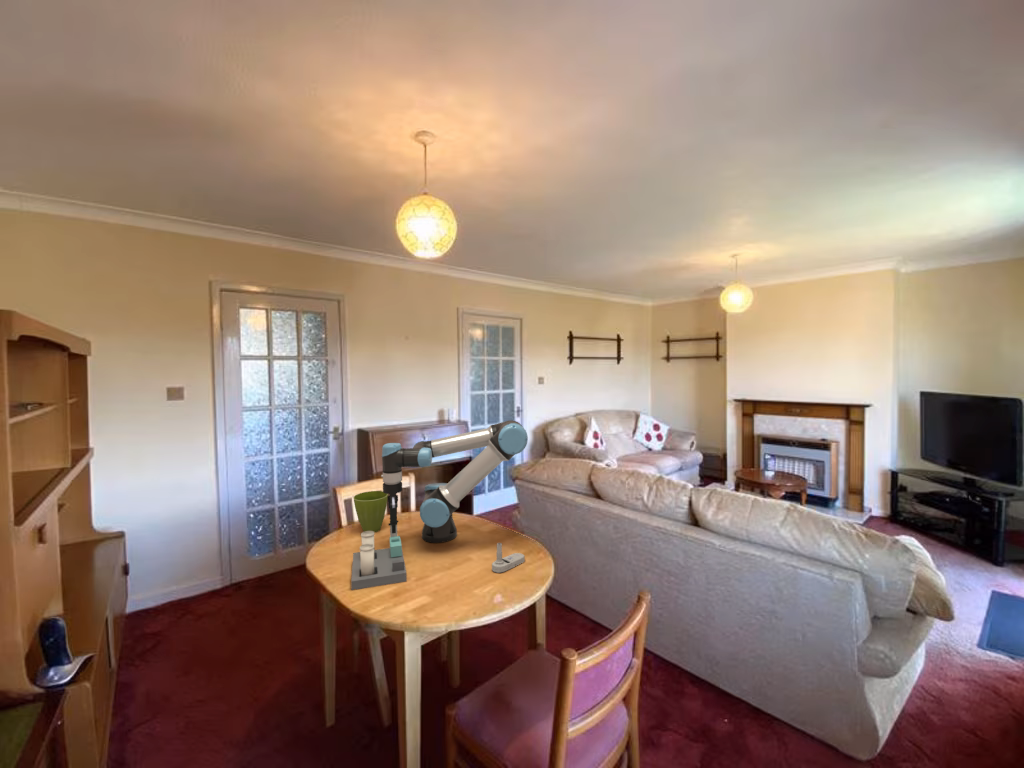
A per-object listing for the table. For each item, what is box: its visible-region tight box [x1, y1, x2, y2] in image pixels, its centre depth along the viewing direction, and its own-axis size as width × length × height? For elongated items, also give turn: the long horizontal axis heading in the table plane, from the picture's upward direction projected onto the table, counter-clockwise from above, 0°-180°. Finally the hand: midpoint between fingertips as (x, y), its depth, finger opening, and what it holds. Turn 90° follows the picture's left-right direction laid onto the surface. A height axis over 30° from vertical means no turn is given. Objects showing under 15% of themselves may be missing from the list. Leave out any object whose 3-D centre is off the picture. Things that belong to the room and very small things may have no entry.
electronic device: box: [491, 542, 526, 574], centre depth 166 cm, size 5×10×15 cm
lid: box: [389, 535, 403, 557], centre depth 172 cm, size 4×10×5 cm, turn 18°
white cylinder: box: [360, 531, 376, 559], centre depth 168 cm, size 5×5×12 cm
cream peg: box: [359, 544, 375, 577], centre depth 156 cm, size 5×5×12 cm
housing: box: [350, 547, 408, 591], centre depth 163 cm, size 18×24×6 cm
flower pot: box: [353, 490, 389, 533], centre depth 203 cm, size 15×15×16 cm
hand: (393, 539), depth 180 cm, fingers closed
